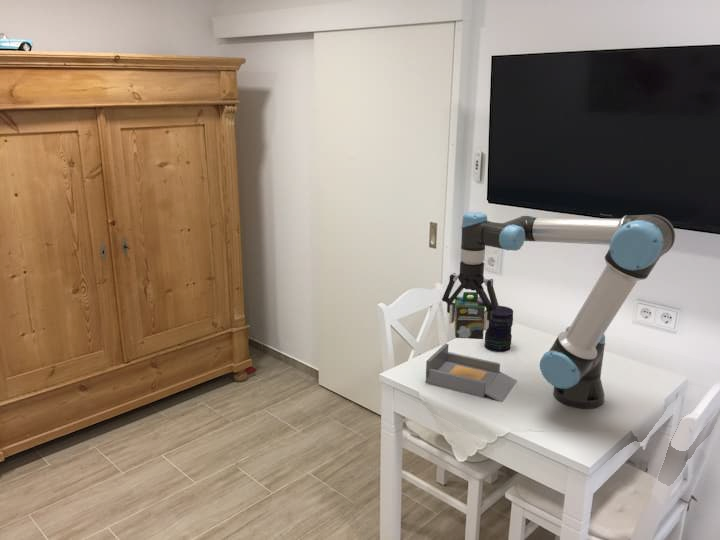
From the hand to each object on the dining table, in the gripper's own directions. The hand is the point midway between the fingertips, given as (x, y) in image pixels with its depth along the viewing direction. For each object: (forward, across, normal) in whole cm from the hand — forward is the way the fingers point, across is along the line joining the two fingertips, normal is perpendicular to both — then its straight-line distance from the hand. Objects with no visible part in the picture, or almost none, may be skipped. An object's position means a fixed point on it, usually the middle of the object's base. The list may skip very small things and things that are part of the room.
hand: (468, 325), depth 193 cm
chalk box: (+3, 0, 0) cm, 3 cm away
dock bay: (+20, -2, 0) cm, 20 cm away
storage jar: (+20, -1, -32) cm, 38 cm away
